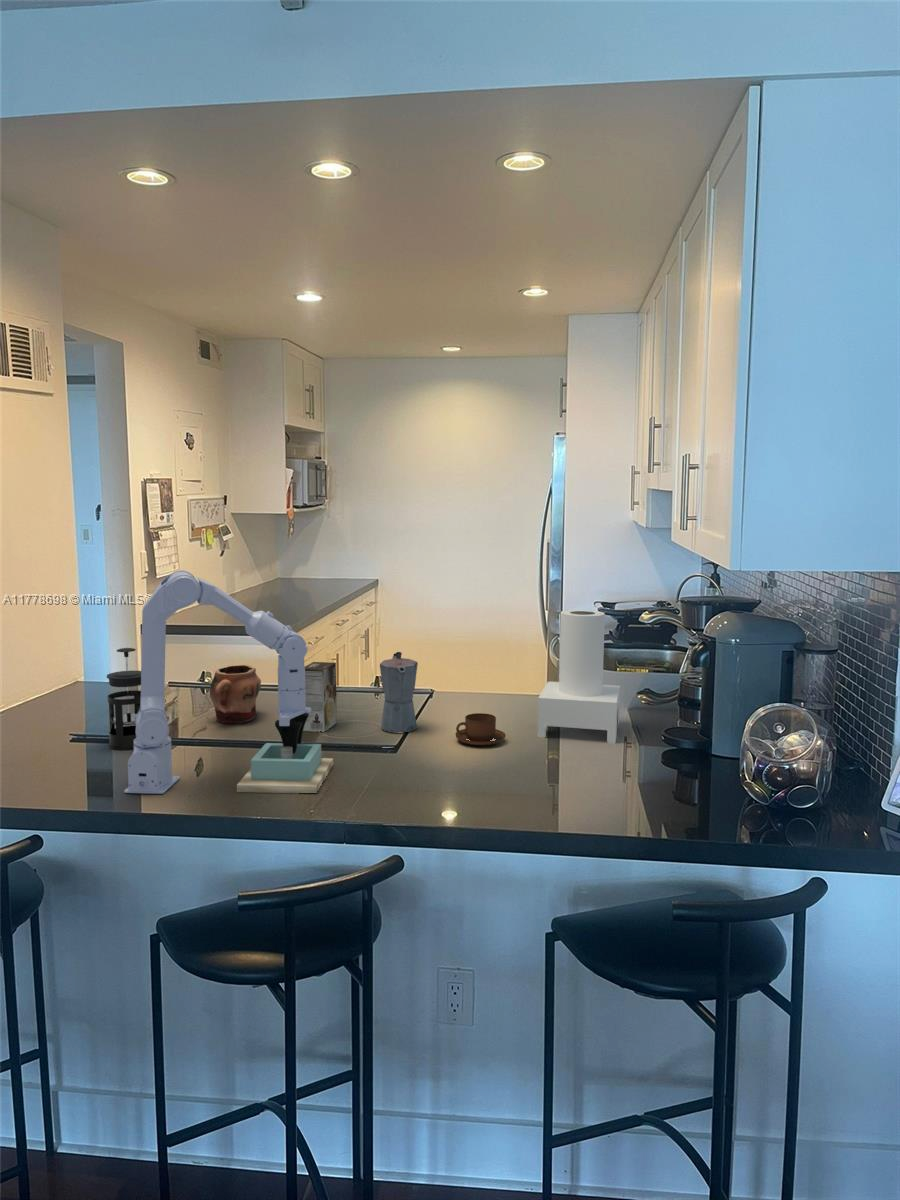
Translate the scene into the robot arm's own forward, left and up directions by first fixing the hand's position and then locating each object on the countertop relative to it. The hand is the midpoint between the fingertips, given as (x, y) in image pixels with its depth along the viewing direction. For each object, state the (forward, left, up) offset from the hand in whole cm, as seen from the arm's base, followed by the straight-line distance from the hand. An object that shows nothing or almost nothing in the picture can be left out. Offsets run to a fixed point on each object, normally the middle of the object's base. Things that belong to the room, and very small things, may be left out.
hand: (292, 750), depth 184 cm
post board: (-5, 0, -4) cm, 7 cm away
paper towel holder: (+36, -65, -5) cm, 74 cm away
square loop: (-5, 0, -3) cm, 6 cm away
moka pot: (+34, -19, -5) cm, 39 cm away
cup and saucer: (+24, -40, -5) cm, 47 cm away
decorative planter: (+38, +24, -5) cm, 45 cm away
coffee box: (+34, +1, -5) cm, 34 cm away
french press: (+16, +42, -5) cm, 45 cm away
